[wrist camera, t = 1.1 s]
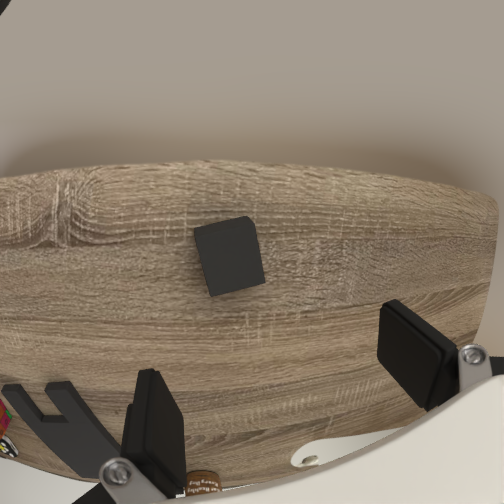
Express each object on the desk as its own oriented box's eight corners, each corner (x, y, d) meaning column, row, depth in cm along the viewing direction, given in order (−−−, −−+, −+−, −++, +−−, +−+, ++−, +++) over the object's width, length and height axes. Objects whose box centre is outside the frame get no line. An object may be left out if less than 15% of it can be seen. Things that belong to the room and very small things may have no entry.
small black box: (194, 227, 23) (194, 237, 21) (246, 215, 24) (254, 222, 21) (208, 282, 25) (210, 297, 22) (257, 269, 26) (265, 283, 23)
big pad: (4, 384, 24) (0, 391, 22) (69, 380, 25) (66, 389, 24) (82, 471, 31) (81, 477, 30) (145, 472, 33) (145, 479, 31)
